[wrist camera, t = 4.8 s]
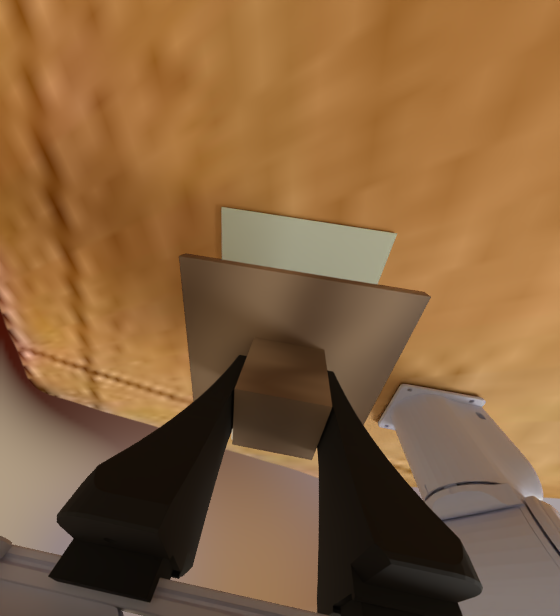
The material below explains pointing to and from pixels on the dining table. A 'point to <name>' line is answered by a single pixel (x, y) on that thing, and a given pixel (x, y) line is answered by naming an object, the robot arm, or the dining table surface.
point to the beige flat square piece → (305, 245)
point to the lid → (291, 345)
